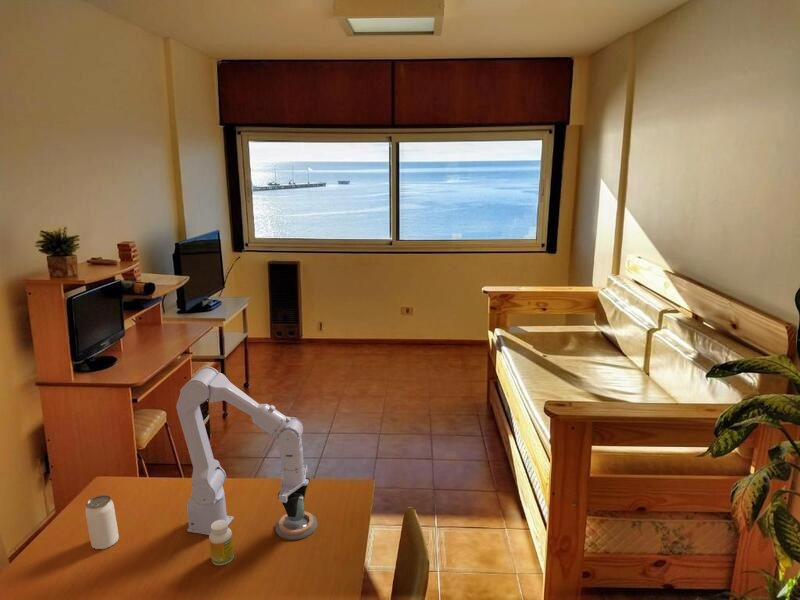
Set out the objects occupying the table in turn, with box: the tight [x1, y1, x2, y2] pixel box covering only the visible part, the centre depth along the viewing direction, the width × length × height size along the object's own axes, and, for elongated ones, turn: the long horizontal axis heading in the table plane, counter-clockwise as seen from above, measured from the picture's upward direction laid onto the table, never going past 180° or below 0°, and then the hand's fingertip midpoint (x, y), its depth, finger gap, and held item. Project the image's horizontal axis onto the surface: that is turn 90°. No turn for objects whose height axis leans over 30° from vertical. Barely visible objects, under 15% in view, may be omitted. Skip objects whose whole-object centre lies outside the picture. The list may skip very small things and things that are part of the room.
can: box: [84, 494, 120, 550], centre depth 148 cm, size 6×6×12 cm
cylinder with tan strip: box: [287, 493, 305, 521], centre depth 153 cm, size 5×4×6 cm
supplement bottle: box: [208, 520, 235, 566], centre depth 142 cm, size 5×5×10 cm
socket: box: [274, 510, 318, 541], centre depth 154 cm, size 11×11×2 cm
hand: (295, 510), depth 153 cm, fingers closed on cylinder with tan strip, 4 cm apart
